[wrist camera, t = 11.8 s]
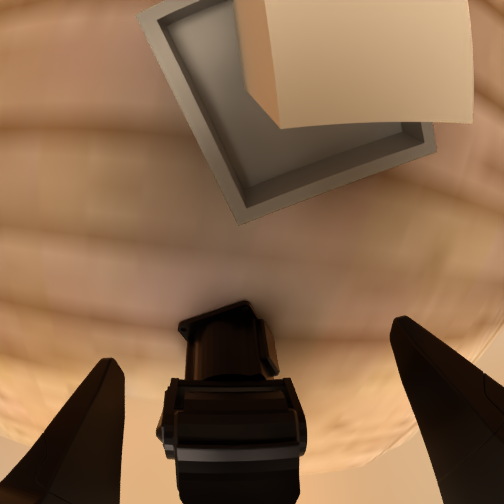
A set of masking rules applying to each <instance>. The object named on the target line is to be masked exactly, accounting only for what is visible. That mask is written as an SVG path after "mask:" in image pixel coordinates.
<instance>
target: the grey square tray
mask: <svg viewBox="0 0 504 504" xmlns="http://www.w3.org/2000/svg"><path fill="white" fill-rule="evenodd" d="M232 5H233V0H164V1H162V2H160V3H158V4H156V5H154V6H152V7H150V8H148V9H146V10H144V11H142V12H140V13H138V14H136V15H135V16H136V18H137V20H138V22H139V24H140V26H141V28H142V30H143V32H144V34H145V36H146V38H147V40H148V43H149V45H150V47H151V49H152V51H153V53H154V55H155V57H156V59H157V61H158V63H159V65H160V67H161V69H162V71H163V73H164V75H165V77H166V79H167V81H168V83H169V85H170V87H171V89H172V92H173V94H174V96H175V98H176V100H177V102H178V104H179V106H180V108H181V110H182V112H183V114H184V116H185V118H186V120H187V122H188V124H189V126H190V128H191V130H192V132H193V134H194V136H195V138H196V140H197V142H198V145H199V147H200V149H201V151H202V153H203V155H204V157H205V159H206V161H207V163H208V165H209V167H210V169H211V171H212V173H213V175H214V177H215V179H216V181H217V183H218V185H219V187H220V189H221V191H222V193H223V195H224V197H225V200H226V202H227V204H228V206H229V208H230V210H231V212H232V214H233V216H234V218H235V220H236V222H237V224H238V226H240V225H242V224H245V223H247V222H250V221H252V220H255V219H257V218H260V217H263V216H265V215H268V214H270V213H273V212H275V211H278V210H280V209H283V208H286V207H288V206H291V205H293V204H296V203H299V202H301V201H304V200H306V199H309V198H312V197H314V196H317V195H319V194H322V193H325V192H327V191H330V190H333V189H335V188H338V187H341V186H343V185H346V184H349V183H352V182H354V181H357V180H360V179H362V178H365V177H368V176H371V175H373V174H376V173H379V172H382V171H384V170H387V169H390V168H393V167H395V166H398V165H401V164H404V163H407V162H409V161H412V160H415V159H418V158H421V157H424V156H427V155H429V154H432V153H435V152H437V149H436V142H435V136H434V130H433V124H432V122H369V123H347V124H331V125H318V126H306V127H296V128H286V129H280V128H279V127H278V125H277V124H276V123H275V122H274V121H273V120H272V119H271V117H270V116H269V115H268V114H267V113H266V112H265V111H264V110H263V108H262V107H261V106H260V105H259V104H258V103H257V102H256V101H255V100H254V99H253V97H252V96H251V95H250V94H249V93H248V92H247V91H246V90H245V89H244V84H243V77H242V70H241V63H240V56H239V49H238V42H237V35H236V28H235V21H234V15H233V8H232Z"/></svg>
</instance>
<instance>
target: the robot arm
mask: <svg viewBox="0 0 504 504" xmlns="http://www.w3.org/2000/svg"><path fill="white" fill-rule="evenodd" d="M243 307H246V308H243ZM178 331H179V332H180V334H181V335H182V336H183V337H184V338H185V340H186V341H187V352H186V367H185V380H181V379H179V378H171V383H170V387H169V386H168V389H167V390H166V391H165V397H164V407H163V412H162V414H161V417H160V420H159V423H158V426H157V428H156V436H157V437H158V439H159V440H160V441H161V442H162V443H163V447H164V449H165V454H166V457H167V459H175V465H176V479H177V488H178V491H179V496H180V500H181V501H182V503H183V504H295V503H296V501H297V499H298V497H299V495H300V482H299V456H303V455H304V453H305V451H306V446H307V426H306V420H305V415H304V412H303V409H302V407H301V404H300V402H299V399H298V396H297V394H296V391H295V388H294V386H293V383H292V381H291V378H283V379H276V380H274V376H277V375H278V374H279V372H280V371H279V366H278V360H277V354H276V349H275V343H274V338H273V335H272V334H271V332H270V330H269V328H268V326H267V325H266V323H265V321H264V320H263V319H259V318H258V316H257V315H256V313H255V311H254V309H253V308H252V306H251V304H250V303H249V302H247V301H242V302H239V303H236V304H234V305H231V306H228V307H225V308H222V309H219V310H216V311H213V312H211V313H208V314H205V315H202V316H199V317H196V318H193V319H190V320H187V321H184V322H181V323H179V325H178ZM390 343H391V346H392V350H393V353H394V356H395V360H396V363H397V367H398V371H399V374H400V378H401V381H402V384H403V386H404V389H405V391H406V394H407V397H408V399H409V402H410V404H411V407H412V410H413V412H414V415H415V418H416V420H417V423H418V426H419V429H420V431H421V434H422V437H423V440H424V443H425V445H426V448H427V451H428V454H429V457H430V460H431V463H432V467H433V470H434V473H435V476H436V479H437V481H438V486H439V489H440V493H441V496H442V500H443V503H444V504H504V387H503V386H502V385H500V384H499V383H497V382H496V381H495V380H493V379H492V378H491V377H489V376H488V375H487V374H485V373H484V374H483V371H481V370H480V369H479V368H477V367H476V366H475V365H473V364H472V363H471V362H469V361H468V360H467V359H465V358H464V357H463V356H461V355H460V354H459V353H457V352H456V351H455V350H453V349H452V348H451V347H449V346H448V345H447V344H445V343H444V342H443V341H441V340H440V339H438V338H437V337H436V336H434V335H433V334H432V333H430V332H429V331H427V330H426V329H425V328H423V327H422V326H420V325H419V324H418V323H416V322H415V321H414V320H412V319H411V318H409V317H408V316H400V317H396V318H395V319H394V320H393V324H392V328H391V331H390ZM124 420H125V377H124V373H123V371H122V370H121V368H120V367H119V365H118V364H117V362H116V360H115V359H114V358H102V359H101V360H100V361H99V362H98V363H97V364H96V366H95V367H94V368H93V369H92V371H91V372H90V373H89V374H88V376H87V377H86V378H85V379H84V381H83V382H82V383H81V384H80V386H79V387H78V388H77V389H76V391H75V392H74V393H73V394H72V396H71V397H70V398H69V400H68V401H67V402H66V403H65V405H64V406H63V407H62V408H61V410H60V411H59V412H58V414H57V415H56V416H55V418H54V419H53V420H52V421H51V423H50V424H49V425H48V427H47V428H46V429H45V431H44V433H42V435H41V436H40V437H39V439H38V440H37V441H36V442H35V444H34V445H33V446H32V448H31V449H30V450H29V451H28V452H27V454H26V455H25V456H24V457H23V458H22V459H21V460H20V462H19V463H18V464H17V465H16V466H15V467H14V468H13V469H12V471H11V472H10V473H9V474H8V475H7V476H6V477H5V478H4V479H3V480H2V481H1V482H0V504H120V478H121V460H122V444H123V432H124Z"/></svg>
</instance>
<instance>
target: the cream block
mask: <svg viewBox="0 0 504 504" xmlns="http://www.w3.org/2000/svg"><path fill="white" fill-rule="evenodd" d="M232 8H233V15H234V21H235V28H236V35H237V42H238V49H239V56H240V63H241V70H242V77H243V84H244V89H245V90H246V91H247V92H248V93H249V94H250V95H251V96H252V97H253V99H254V100H255V101H256V102H257V103H258V104H259V105H260V106H261V107H262V108H263V110H264V111H265V112H266V113H267V114H268V115H269V116H270V117H271V119H272V120H273V121H274V122H275V123H276V124H277V125H278V127H279V128H280V129H286V128H296V127H306V126H318V125H331V124H347V123H369V122H447V123H467V124H472V123H473V97H474V72H473V47H472V33H471V23H470V14H469V6H468V0H233V5H232Z"/></svg>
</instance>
